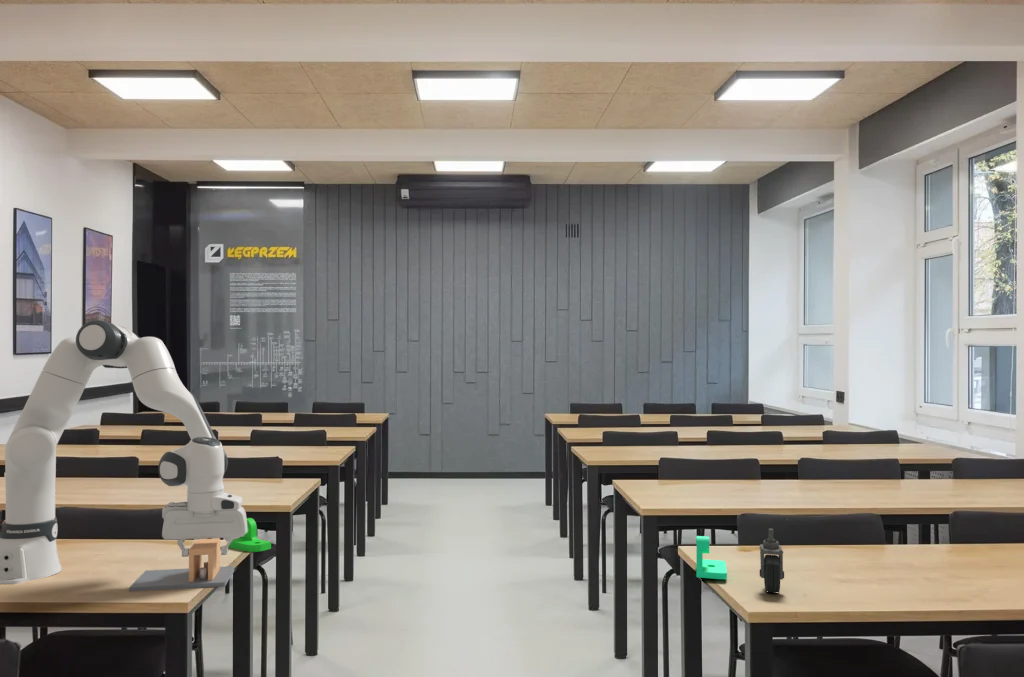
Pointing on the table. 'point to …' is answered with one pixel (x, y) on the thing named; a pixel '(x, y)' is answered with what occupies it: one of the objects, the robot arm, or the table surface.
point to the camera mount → (708, 562)
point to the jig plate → (180, 579)
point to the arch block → (195, 558)
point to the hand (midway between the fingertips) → (205, 555)
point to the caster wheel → (771, 563)
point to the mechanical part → (250, 540)
